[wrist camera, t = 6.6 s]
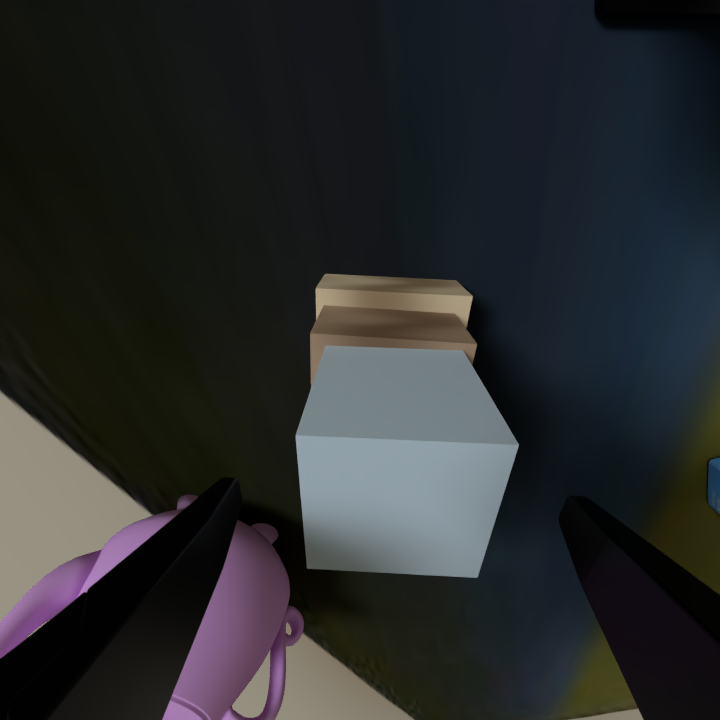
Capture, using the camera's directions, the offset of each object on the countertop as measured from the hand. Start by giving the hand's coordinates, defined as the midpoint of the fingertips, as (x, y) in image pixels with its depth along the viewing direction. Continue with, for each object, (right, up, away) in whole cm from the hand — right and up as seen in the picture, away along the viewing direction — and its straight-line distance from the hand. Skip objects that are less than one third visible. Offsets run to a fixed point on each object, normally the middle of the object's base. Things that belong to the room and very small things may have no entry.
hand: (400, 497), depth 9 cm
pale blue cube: (0, +2, +4) cm, 4 cm away
